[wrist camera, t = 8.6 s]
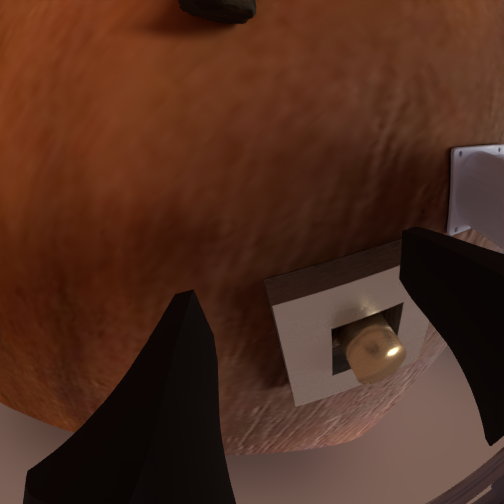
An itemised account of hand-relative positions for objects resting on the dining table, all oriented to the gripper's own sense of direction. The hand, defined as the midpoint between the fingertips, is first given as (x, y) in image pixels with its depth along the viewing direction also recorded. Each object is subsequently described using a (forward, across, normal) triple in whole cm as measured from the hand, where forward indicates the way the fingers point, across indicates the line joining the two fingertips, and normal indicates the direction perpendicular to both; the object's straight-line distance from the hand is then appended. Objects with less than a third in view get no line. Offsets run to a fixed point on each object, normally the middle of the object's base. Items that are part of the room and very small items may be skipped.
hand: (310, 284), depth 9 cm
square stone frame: (+9, -6, +13) cm, 17 cm away
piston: (+9, -6, +13) cm, 17 cm away
